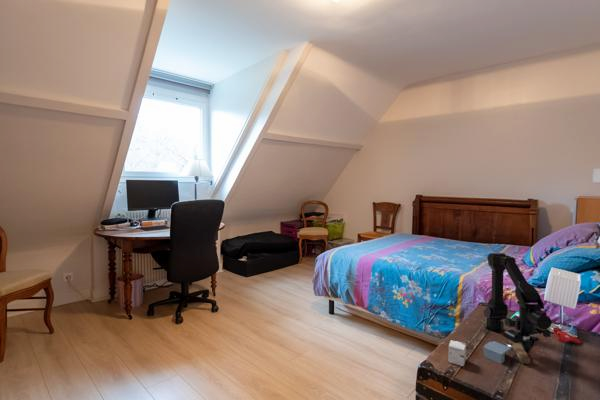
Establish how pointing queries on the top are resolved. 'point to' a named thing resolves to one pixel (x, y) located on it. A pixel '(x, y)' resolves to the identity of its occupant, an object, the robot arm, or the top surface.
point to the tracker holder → (565, 336)
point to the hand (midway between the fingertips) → (526, 352)
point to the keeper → (496, 351)
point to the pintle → (508, 344)
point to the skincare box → (457, 353)
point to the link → (520, 352)
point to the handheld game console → (515, 315)
